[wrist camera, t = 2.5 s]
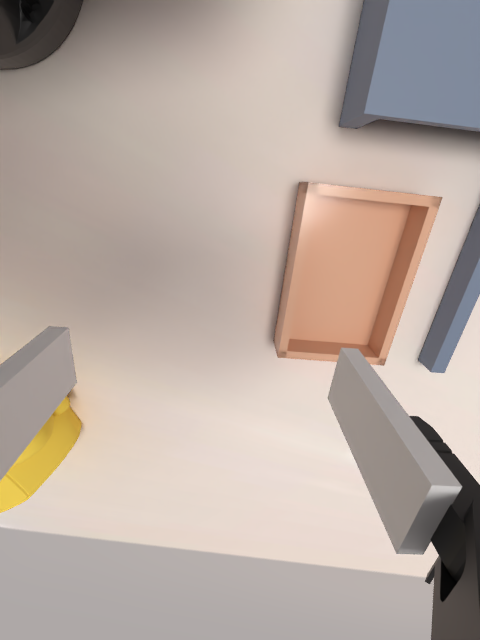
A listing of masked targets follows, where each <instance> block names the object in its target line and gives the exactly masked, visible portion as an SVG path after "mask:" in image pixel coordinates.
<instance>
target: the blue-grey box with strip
mask: <svg viewBox="0 0 480 640" xmlns="http://www.w3.org/2000/svg"><path fill="white" fill-rule="evenodd" d="M378 119H383V120H391V121H399V122H407V123H415V124H423V125H431V126H439V127H446V128H454V129H462V130H470V131H478V132H480V0H364V3H363V8H362V13H361V18H360V23H359V28H358V33H357V38H356V43H355V48H354V53H353V58H352V63H351V68H350V73H349V78H348V83H347V88H346V93H345V98H344V103H343V108H342V113H341V118H340V123H339V127H347V128H355V129H357V128H359V127H361V126H364V125H366V124H368V123H371V122H373V121H375V120H378ZM479 294H480V205H479V208H478V210H477V213H476V215H475V218H474V220H473V223H472V225H471V228H470V230H469V233H468V235H467V238H466V240H465V243H464V245H463V248H462V250H461V253H460V255H459V258H458V261H457V263H456V266H455V268H454V271H453V273H452V276H451V278H450V281H449V283H448V286H447V288H446V291H445V293H444V296H443V298H442V301H441V303H440V306H439V308H438V311H437V313H436V316H435V318H434V321H433V323H432V326H431V328H430V331H429V333H428V336H427V338H426V341H425V343H424V346H423V348H422V351H421V353H420V356H419V358H418V360H419V361H420V362H421V363H422V364H423V365H424V366H425V367H426V368H427V369H428V370H429V371H430V372H436V373H444V372H445V370H446V368H447V366H448V364H449V361H450V359H451V357H452V355H453V352H454V350H455V348H456V346H457V343H458V341H459V339H460V337H461V335H462V332H463V330H464V328H465V326H466V323H467V321H468V319H469V317H470V315H471V312H472V310H473V308H474V306H475V303H476V301H477V299H478V297H479Z"/></svg>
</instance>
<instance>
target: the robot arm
mask: <svg viewBox="0 0 480 640" xmlns="http://www.w3.org/2000/svg"><path fill="white" fill-rule="evenodd" d="M81 4H82V0H0V69H14V68H21V67H25V66H29V65H32V64H34V63H36V62H39V61H40V60H42V59H44V58H46V57H47V56H48V55H50V54H51V53H52V52H53V51H55V50H56V49H57V48H58V47H59V46H60V44H61V43H62V42H63V41H64V40H65V38H66V37H67V35H68V34H69V32H70V31H71V29H72V27H73V25H74V23H75V21H76V18H77V16H78V13H79V10H80V8H81ZM76 383H77V380H76V373H75V367H74V360H73V354H72V347H71V340H70V334H69V328H67V327H53V326H49V327H48V328H47V329H45V330H44V331H43V332H42V333H40V334H39V335H38V336H36V337H35V338H34V339H33V340H31V341H30V342H29V343H28V344H26V345H25V346H24V347H23V348H21V349H20V350H19V351H17V352H16V353H15V354H14V355H12V356H11V357H10V358H9V359H7V360H6V361H5V362H4V363H2V364H1V365H0V481H1V480H2V478H3V477H4V476H5V474H6V473H7V472H8V471H9V469H10V468H11V467H12V465H13V464H14V463H15V462H16V460H17V459H18V458H19V456H20V455H21V454H22V453H23V451H24V450H25V449H26V447H27V446H28V445H29V444H30V442H31V441H32V440H33V438H34V437H35V436H36V434H37V433H38V432H39V431H40V429H41V428H42V427H43V425H44V424H45V423H46V422H47V420H48V419H49V418H50V416H51V415H52V414H53V413H54V411H55V410H56V409H57V407H58V406H59V405H60V404H61V402H62V401H63V400H64V398H65V397H66V396H67V394H68V393H69V392H70V391H71V389H72V388H73V387H74V385H75V384H76ZM328 400H329V402H330V404H331V407H332V409H333V411H334V414H335V416H336V418H337V420H338V423H339V425H340V427H341V429H342V432H343V434H344V436H345V438H346V441H347V443H348V445H349V447H350V450H351V452H352V454H353V456H354V459H355V461H356V463H357V465H358V468H359V470H360V472H361V474H362V477H363V479H364V481H365V484H366V486H367V488H368V490H369V493H370V495H371V497H372V499H373V502H374V504H375V506H376V508H377V511H378V513H379V515H380V517H381V520H382V522H383V524H384V526H385V529H386V531H387V533H388V535H389V538H390V540H391V542H392V545H393V547H394V549H395V551H396V554H422V555H423V554H424V552H425V551H426V549H427V547H428V545H429V544H430V542H432V543H433V545H434V547H435V549H436V551H437V552H438V554H439V556H438V558H437V560H436V561H435V563H434V565H433V566H432V568H431V569H430V571H429V573H428V574H427V577H426V580H425V582H427V583H428V584H430V582H431V581H432V580H433V578H434V593H433V594H434V595H433V615H432V633H431V640H480V485H479V484H478V482H477V481H476V480H475V479H474V478H473V476H472V475H471V474H470V473H469V471H468V470H467V469H466V468H465V467H464V465H463V464H462V463H461V462H460V460H459V459H458V458H457V457H456V455H455V454H452V451H451V449H450V448H449V447H448V446H447V444H446V443H443V440H442V438H441V437H440V436H439V435H438V433H437V432H436V431H435V430H434V429H433V427H431V426H430V425H429V424H427V423H426V422H425V421H423V420H422V419H421V418H420V417H418V416H409V415H408V414H407V413H406V411H405V410H404V409H403V408H402V406H401V405H400V404H399V402H398V401H397V400H396V398H395V397H394V396H393V394H392V393H391V392H390V390H389V389H388V388H387V386H386V385H385V384H384V382H383V381H382V380H381V378H380V377H379V376H378V374H377V373H376V372H375V370H374V369H373V368H372V367H371V365H370V364H369V363H368V361H367V360H366V359H365V357H364V356H363V355H362V353H361V352H360V351H359V349H355V348H341V350H340V353H339V357H338V361H337V365H336V368H335V372H334V376H333V380H332V384H331V387H330V391H329V395H328Z"/></svg>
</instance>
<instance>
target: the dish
mask: <svg viewBox="0 0 480 640" xmlns="http://www.w3.org/2000/svg"><path fill="white" fill-rule="evenodd" d="M441 200H442V197H435V196H426V195H417V194H408V193H399V192H390V191H381V190H372V189H363V188H354V187H345V186H336V185H327V184H319V183H310V182H299V188H298V195H297V201H296V207H295V213H294V219H293V225H292V231H291V237H290V243H289V249H288V255H287V261H286V267H285V274H284V280H283V286H282V292H281V298H280V304H279V310H278V316H277V322H276V328H275V334H274V340H273V341H274V345H275V349H276V353H277V356H278V358H292V359H305V360H319V361H332V362H337V361H338V357H339V353H340V350H341V348H355V349H359V351H360V352H361V353H362V355H363V356H364V357H365V359H366V360H367V361H368V363H369V364H372V365H384V364H385V361H386V358H387V356H388V353H389V350H390V347H391V344H392V341H393V338H394V335H395V333H396V330H397V327H398V324H399V321H400V318H401V315H402V312H403V310H404V307H405V304H406V301H407V298H408V295H409V292H410V289H411V287H412V284H413V281H414V278H415V275H416V272H417V269H418V266H419V264H420V261H421V258H422V255H423V252H424V249H425V246H426V243H427V240H428V238H429V235H430V232H431V229H432V226H433V223H434V220H435V217H436V215H437V212H438V209H439V206H440V203H441Z"/></svg>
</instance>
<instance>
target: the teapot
mask: <svg viewBox="0 0 480 640" xmlns="http://www.w3.org/2000/svg"><path fill="white" fill-rule="evenodd" d="M69 406H70V401H69V399H68V397H65V398H64V400H63V401H62V402H61V404H60V405H59V406H58V407H57V409H56V410H55V411H54V413H53V414H52V415H51V416H50V418H49V419H48V420H47V422H46V423H45V424H44V425H43V427H42V428H41V429H40V431H39V432H38V433H37V434H36V436H35V437H34V438H33V440H32V441H31V442H30V444H29V445H28V446H27V447H26V449H25V450H24V451H23V453H22V454H21V455H20V456H19V458H18V459H17V460H16V462H15V463H14V464H13V465H12V467H11V468H10V469H9V471H8V472H7V473H6V474H5V476H4V477H3V478H2V480H1V481H0V513H2V512H4V511H6V510H9V509H11V508H13V507H15V506H17V505H19V504H21V503H23V502H25V501H26V500H28V499H29V498H30V497H31V496H32V495H33V494H34V493H35V492H36V491H37V489H38V488H39V487H40V486H41V485H42V484H43V483H44V482H45V481H46V480H47V478H48V477H49V476H50V475H51V474H52V473H53V472H54V471H55V469H56V468H57V467H58V466H59V465H60V463H61V462H62V461H63V460H64V458H65V457H66V456H67V454H68V453H69V451H70V450H71V449H72V447H73V446H74V444H75V442H76V441H77V439H78V437H79V434H80V430H81V421H80V419H79V418H78V417H77V415H76V414H75V413H74V412H73V410H72V409H71V408H70V407H69Z"/></svg>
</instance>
